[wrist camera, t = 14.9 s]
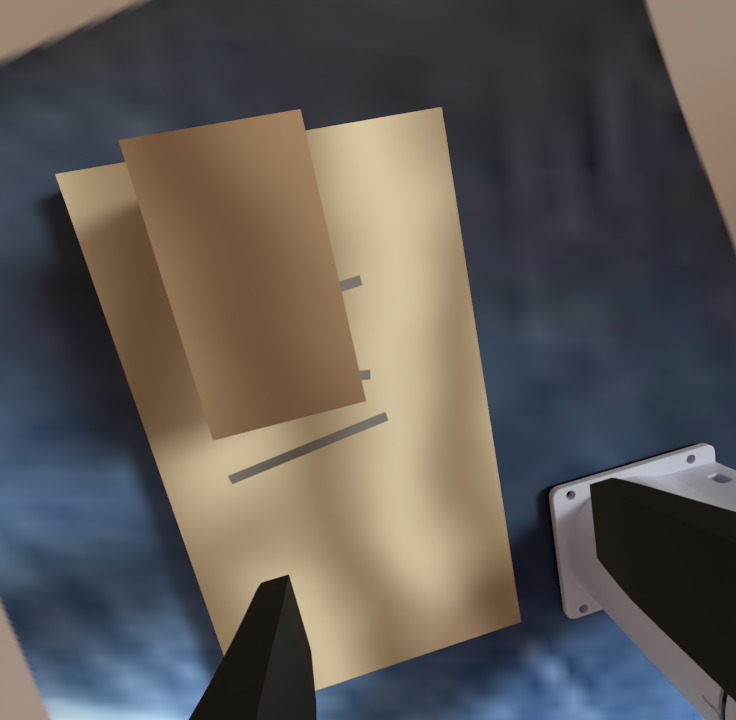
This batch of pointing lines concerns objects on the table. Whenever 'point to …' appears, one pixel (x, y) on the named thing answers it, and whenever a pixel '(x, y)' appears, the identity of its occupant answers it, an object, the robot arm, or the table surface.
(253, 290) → the block
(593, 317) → the table surface
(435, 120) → the board
